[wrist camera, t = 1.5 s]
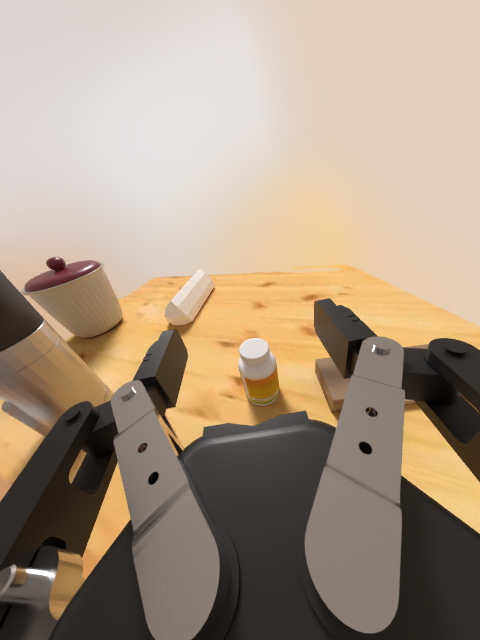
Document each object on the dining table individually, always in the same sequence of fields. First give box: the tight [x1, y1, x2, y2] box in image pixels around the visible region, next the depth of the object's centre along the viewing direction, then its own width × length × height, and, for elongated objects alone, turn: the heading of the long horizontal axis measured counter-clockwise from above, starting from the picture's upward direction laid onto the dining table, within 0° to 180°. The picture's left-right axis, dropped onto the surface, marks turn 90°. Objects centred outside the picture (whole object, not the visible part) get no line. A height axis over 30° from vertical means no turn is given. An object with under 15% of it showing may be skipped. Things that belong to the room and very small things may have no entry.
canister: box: [21, 257, 122, 338], centre depth 54 cm, size 18×18×21 cm
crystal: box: [165, 270, 214, 325], centre depth 60 cm, size 7×7×24 cm
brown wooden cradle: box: [315, 344, 465, 412], centre depth 28 cm, size 7×18×3 cm, turn 91°
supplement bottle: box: [238, 338, 279, 406], centre depth 29 cm, size 5×5×10 cm
